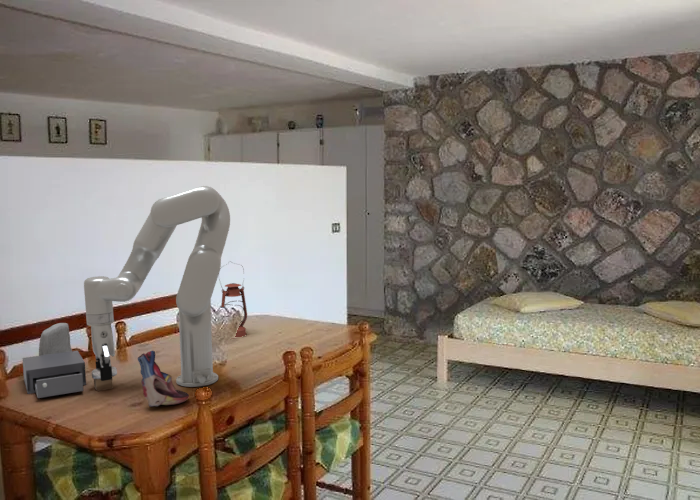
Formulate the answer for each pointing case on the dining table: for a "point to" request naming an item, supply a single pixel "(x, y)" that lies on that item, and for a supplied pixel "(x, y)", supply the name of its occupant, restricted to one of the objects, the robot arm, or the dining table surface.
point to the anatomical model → (158, 383)
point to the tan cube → (102, 384)
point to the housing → (52, 367)
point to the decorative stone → (55, 340)
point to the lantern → (233, 292)
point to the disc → (97, 373)
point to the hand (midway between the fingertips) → (104, 376)
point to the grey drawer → (58, 384)
